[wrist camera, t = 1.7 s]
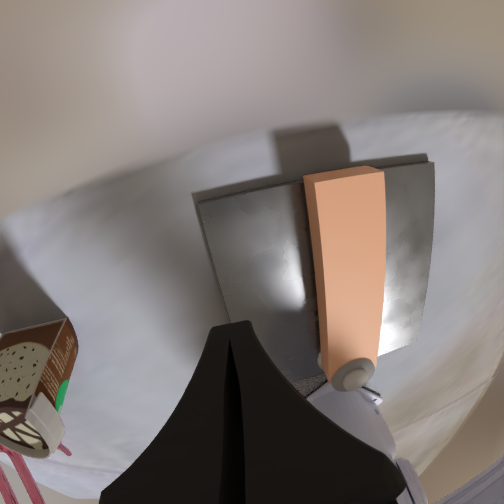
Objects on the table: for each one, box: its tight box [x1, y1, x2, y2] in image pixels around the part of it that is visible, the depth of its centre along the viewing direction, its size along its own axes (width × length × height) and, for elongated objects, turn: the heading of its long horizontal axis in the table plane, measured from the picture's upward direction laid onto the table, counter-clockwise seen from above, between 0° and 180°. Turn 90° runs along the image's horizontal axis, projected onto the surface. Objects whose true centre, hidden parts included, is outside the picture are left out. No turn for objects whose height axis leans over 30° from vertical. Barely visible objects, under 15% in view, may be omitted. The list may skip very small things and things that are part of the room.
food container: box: [0, 317, 78, 459], centre depth 16 cm, size 12×6×10 cm, turn 104°
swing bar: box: [303, 165, 386, 392], centre depth 18 cm, size 17×4×3 cm, turn 11°
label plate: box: [198, 161, 435, 383], centre depth 20 cm, size 16×17×1 cm
